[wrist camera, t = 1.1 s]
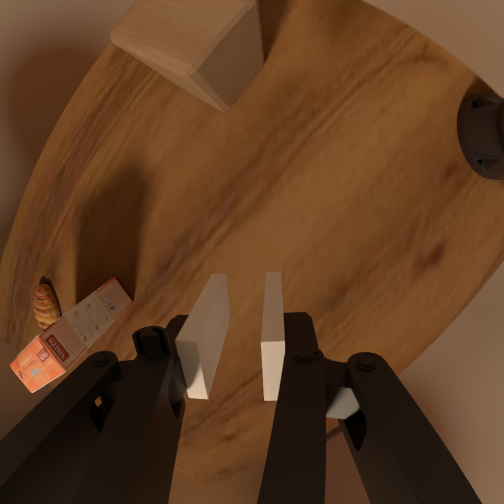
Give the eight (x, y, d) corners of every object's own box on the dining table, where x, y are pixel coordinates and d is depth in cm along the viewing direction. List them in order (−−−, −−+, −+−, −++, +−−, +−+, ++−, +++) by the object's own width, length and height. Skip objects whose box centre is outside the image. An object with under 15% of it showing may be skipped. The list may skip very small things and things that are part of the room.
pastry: (35, 279, 48) (24, 286, 44) (57, 285, 47) (45, 292, 44) (43, 318, 50) (33, 326, 47) (64, 325, 50) (55, 334, 46)
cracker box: (114, 273, 45) (36, 334, 25) (135, 302, 46) (68, 374, 26) (73, 308, 48) (6, 364, 28) (92, 332, 49) (32, 396, 29)
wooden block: (211, 32, 33) (170, -41, 14) (267, 62, 34) (262, -10, 15) (172, 83, 36) (101, 37, 17) (226, 115, 37) (185, 77, 18)
